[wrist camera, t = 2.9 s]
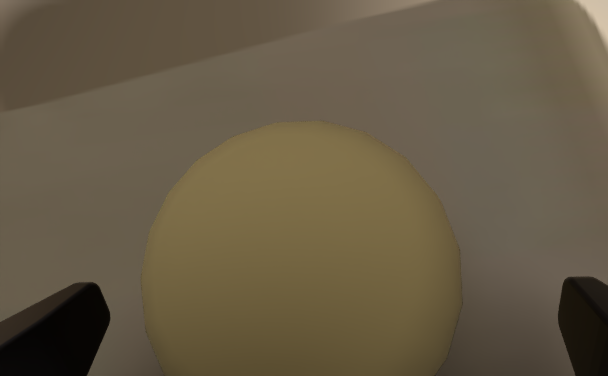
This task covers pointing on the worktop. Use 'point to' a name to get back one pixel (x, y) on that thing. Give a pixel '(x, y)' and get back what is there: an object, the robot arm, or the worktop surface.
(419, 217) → the cork
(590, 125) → the worktop surface
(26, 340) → the robot arm
